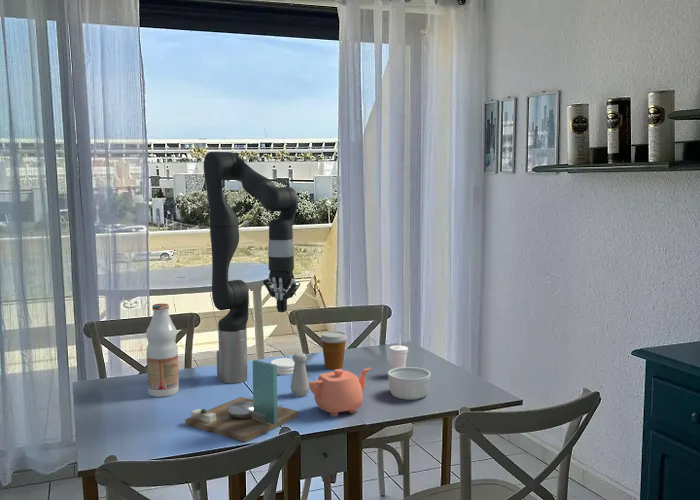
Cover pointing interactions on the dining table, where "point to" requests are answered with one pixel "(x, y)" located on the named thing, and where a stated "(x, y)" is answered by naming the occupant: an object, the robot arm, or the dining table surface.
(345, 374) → the teapot
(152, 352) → the fruit juice
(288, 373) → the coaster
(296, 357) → the salt shaker
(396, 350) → the smoothie
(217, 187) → the robot arm
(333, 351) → the disposable coffee cup
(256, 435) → the wooden cutting board
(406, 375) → the ramekin
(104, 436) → the dining table surface
